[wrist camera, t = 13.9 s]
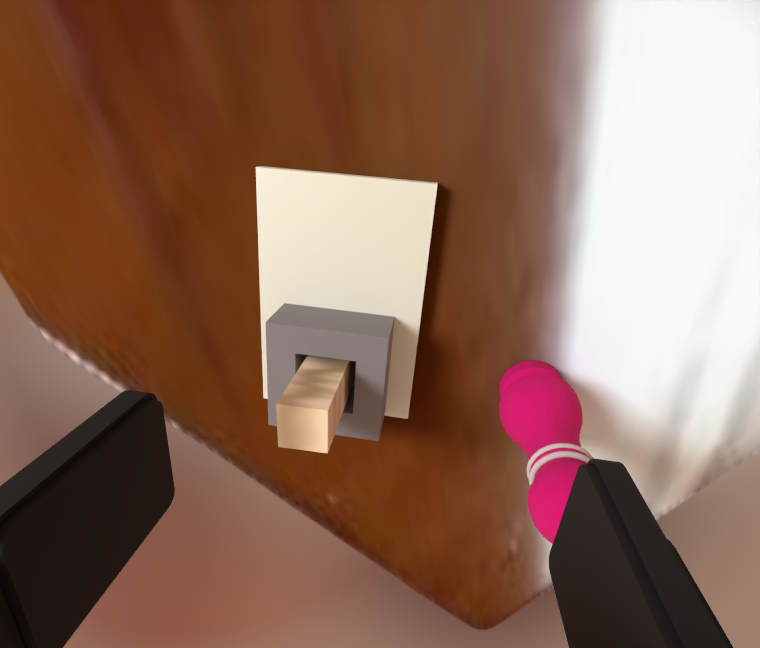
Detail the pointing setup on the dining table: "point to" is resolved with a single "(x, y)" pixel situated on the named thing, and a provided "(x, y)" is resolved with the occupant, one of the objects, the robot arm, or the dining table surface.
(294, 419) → the square wooden peg
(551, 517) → the pink bowling pin
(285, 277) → the board
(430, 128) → the dining table surface
